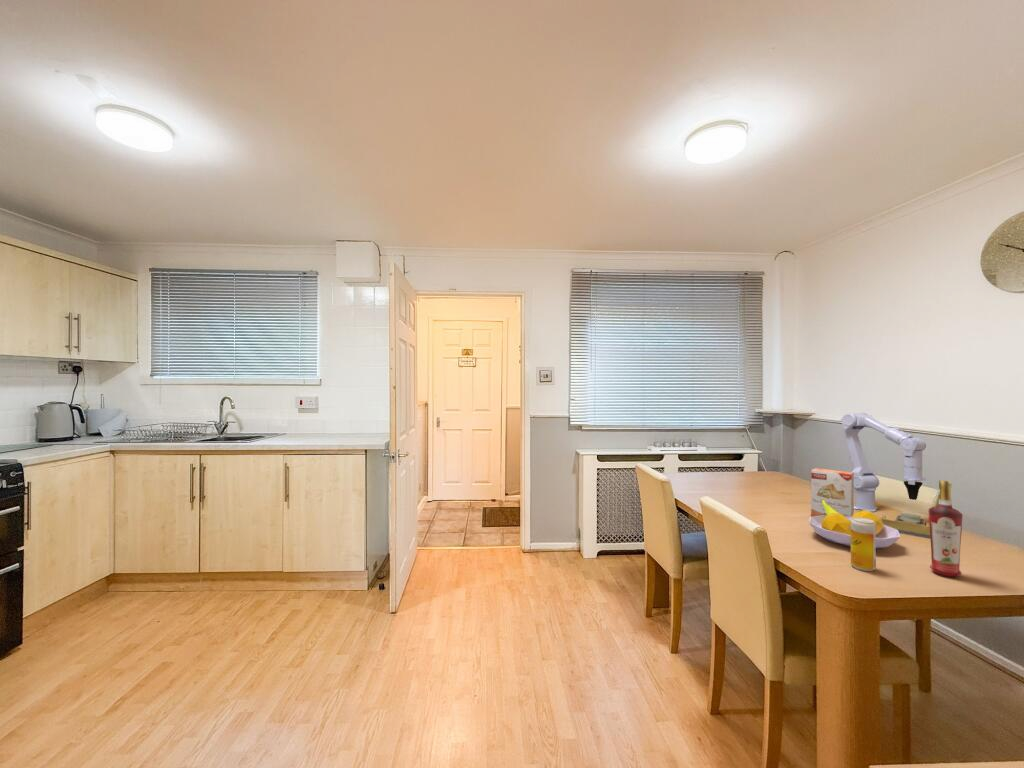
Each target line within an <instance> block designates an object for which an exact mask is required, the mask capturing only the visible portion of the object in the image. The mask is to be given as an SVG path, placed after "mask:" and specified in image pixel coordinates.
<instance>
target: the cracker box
mask: <svg viewBox="0 0 1024 768" xmlns="http://www.w3.org/2000/svg"><path fill="white" fill-rule="evenodd" d="M810 477H811V481H810V483H811V485H810V486H811V487H810V488H811V489H810V491H811V492H810V493H811V496H810V499H811V501H810V504H811V505H810V513H811V514H810V517H814V516H822V515H827V514H826V512H825V509H824V505H823V503H822V500H825V502H826V504H827V505H829V506H831V507H832V508H833V509H835V510H836V511H838V512H839V513H840V514H842V515H843V516H844V517H852V516H853V514H855V512H854V510H855V509H854V505H855V489H854V473H852V471H842V470H835V469H826V468H825V469H824V468H820V467H819V468H817V467H814V468H812V469H811V476H810Z"/></svg>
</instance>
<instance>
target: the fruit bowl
mask: <svg viewBox="0 0 1024 768" xmlns="http://www.w3.org/2000/svg"><path fill="white" fill-rule="evenodd" d="M822 503H823V505H824V509H825V512H826V514H827V515H822V516H814V517H811V516H810V517H809V519H808V523H809V526H810V527H811V528H812V529H813V531H814V532H815V533H816V534H818V535H819V536H821V537H823V538H824V539H826V540H828V541H830V542H831V543H836V544H840V545H844V546H846V547H851V521H852V518H866V519H870V520H872V521H874V523H875V525H876V549H880V548H881V549H882V548H888V547H890V546H892V545H893V544H895V543H896V542H897V541H898V540H899V539H900V538H901V535H900V534H901V533H899V532H898V530H896V529H894V528H891V527H889V526H886V525H883V523H882V519H881V518H882V517H880V516H878V515H877V514H876V513H875V512H872V511H869V510H860V511H858V512H854V514H853V516H852V517H844V516H843V515H842V514H840V513H839V512H838V511H836V510H835V509H833V508H832V507H831V506H829V505H827V504H826V502H825V500H822Z"/></svg>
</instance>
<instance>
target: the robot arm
mask: <svg viewBox="0 0 1024 768" xmlns="http://www.w3.org/2000/svg"><path fill="white" fill-rule="evenodd" d="M840 422H841V425H842V431H841V432H842V437H843V440H844V443H845V446H846V449H847V451H848V454H849V458H850V460H851V464H852V468H853V470H852V471H851V472H852V473H854V510H860V511H862V510H869V511H871V512H872V513H875V512H876V511H877V509H879V508H878V506H876V491H877V488H878V487H879V485H880V480H879V478H878V477H877V475H876V473H875V471H874V470H873V469H871V468H870V467H869V465H868V462H867V458H866V456H865V452H864V450H863V446H862V444H861V440H860V437H859V433H860V432H861V431H862V430H863V429H864V428H865V427H869V428H871V429H873V430H875V431H877V432H879V433H881V434H883V435H884V437H885V439H886V440H889V441H891V442H892V443H895V444H897V445H898V446H899V447H900V449H901V451H902V454H903V476H902V478H903V479H904V481H903V484H904V486H905V488H906V491H907V495H908V499H909V500H914V501H917V499H918V496H919V491H920V489H921V487H922V485H923V482H922V481H927V478H926V477H925V478H924V477H923V451H925V449H926V448H927V443H926V441H925V440H924V439H923V438H921V437H917V436H915V437H914V436H913V435H912V434H910V433H906V432H905V431H903V430H902V428H900V427H889V426H887V425H886V424H885V423H883V422H881V421H880V420H878V419H876V418H874V417H873V416H872V415H869V414H868V413H867V412H854V413H852V412H847V413H845V414H844V415H843V416H842V417H841V418H840Z"/></svg>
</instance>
